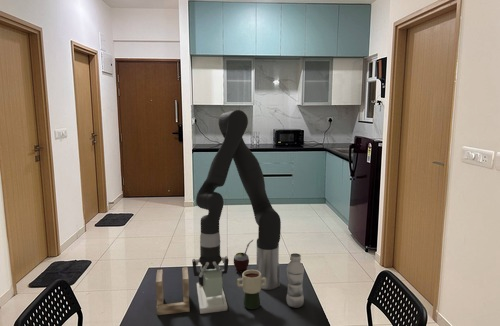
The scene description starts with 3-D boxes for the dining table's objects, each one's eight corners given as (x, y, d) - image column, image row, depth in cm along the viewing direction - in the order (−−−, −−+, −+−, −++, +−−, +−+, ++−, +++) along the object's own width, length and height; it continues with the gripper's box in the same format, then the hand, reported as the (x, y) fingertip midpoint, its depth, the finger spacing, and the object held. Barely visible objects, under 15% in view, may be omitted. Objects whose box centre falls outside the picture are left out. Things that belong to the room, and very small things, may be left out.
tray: (220, 284, 152) (220, 280, 151) (227, 310, 132) (227, 305, 132) (196, 287, 150) (196, 282, 149) (200, 313, 130) (200, 308, 130)
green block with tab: (213, 275, 148) (212, 259, 147) (222, 295, 132) (222, 277, 131) (198, 277, 147) (198, 260, 146) (206, 297, 131) (206, 279, 130)
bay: (188, 295, 143) (187, 267, 141) (189, 311, 132) (188, 280, 130) (158, 298, 141) (157, 269, 139) (157, 315, 130) (155, 284, 128)
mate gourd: (230, 271, 164) (230, 240, 162) (242, 266, 170) (241, 235, 168) (242, 276, 159) (242, 244, 157) (254, 270, 165) (254, 239, 163)
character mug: (265, 300, 139) (265, 269, 137) (267, 310, 132) (267, 277, 130) (237, 301, 138) (236, 269, 137) (237, 311, 131) (237, 278, 130)
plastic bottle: (303, 311, 132) (304, 259, 129) (285, 309, 133) (285, 258, 130) (304, 301, 138) (305, 252, 135) (286, 300, 139) (287, 251, 136)
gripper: (227, 238, 140) (227, 278, 143) (190, 240, 138) (191, 281, 140) (230, 245, 133) (230, 287, 136) (191, 247, 130) (192, 291, 133)
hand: (210, 284), depth 138 cm, fingers closed on green block with tab, 6 cm apart
